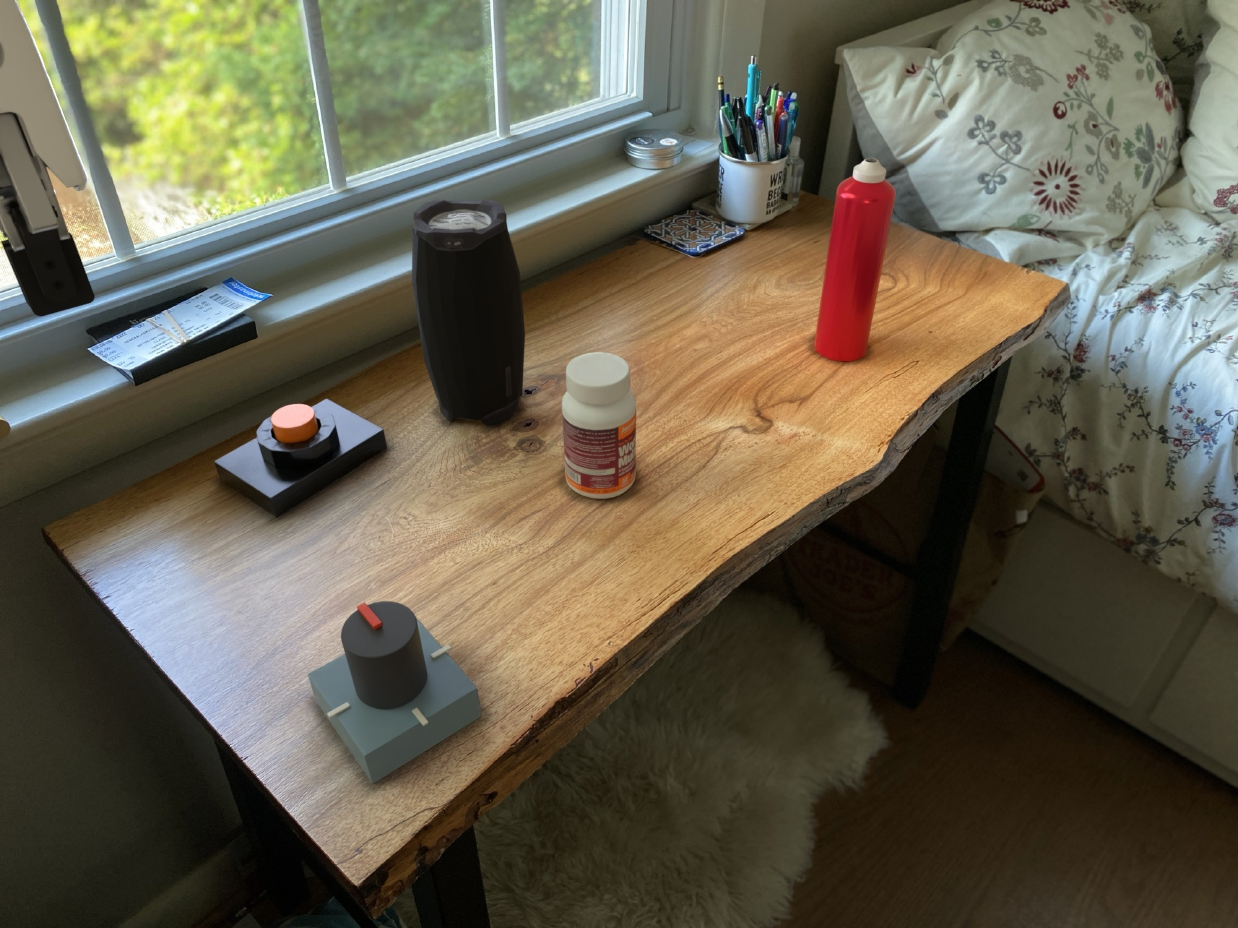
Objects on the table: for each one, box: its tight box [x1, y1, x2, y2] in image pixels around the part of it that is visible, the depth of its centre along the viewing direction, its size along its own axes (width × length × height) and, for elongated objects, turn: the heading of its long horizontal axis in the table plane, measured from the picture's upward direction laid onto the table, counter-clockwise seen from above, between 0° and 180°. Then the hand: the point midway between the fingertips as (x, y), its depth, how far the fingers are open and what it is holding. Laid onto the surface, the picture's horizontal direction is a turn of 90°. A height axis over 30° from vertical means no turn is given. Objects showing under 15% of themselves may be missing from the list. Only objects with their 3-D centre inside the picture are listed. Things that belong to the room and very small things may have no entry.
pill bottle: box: [561, 351, 637, 500], centre depth 78 cm, size 6×6×11 cm
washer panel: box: [307, 615, 482, 784], centre depth 61 cm, size 9×9×3 cm
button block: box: [213, 398, 388, 519], centre depth 82 cm, size 12×8×4 cm, turn 142°
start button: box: [270, 403, 318, 443], centre depth 80 cm, size 4×4×2 cm
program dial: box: [340, 600, 427, 709], centre depth 59 cm, size 5×5×5 cm
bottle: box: [813, 157, 897, 362], centre depth 92 cm, size 6×6×20 cm
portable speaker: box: [411, 198, 526, 427], centre depth 84 cm, size 9×9×20 cm
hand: (62, 303), depth 53 cm, fingers closed
